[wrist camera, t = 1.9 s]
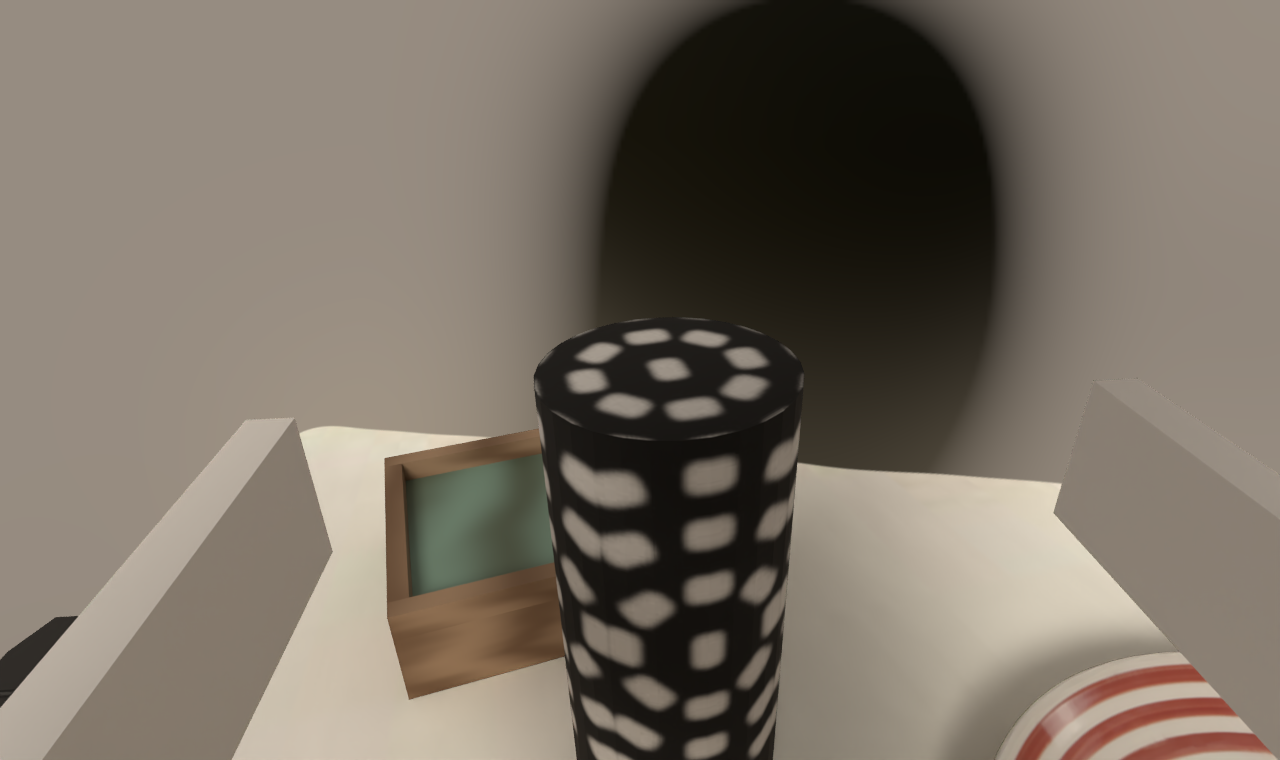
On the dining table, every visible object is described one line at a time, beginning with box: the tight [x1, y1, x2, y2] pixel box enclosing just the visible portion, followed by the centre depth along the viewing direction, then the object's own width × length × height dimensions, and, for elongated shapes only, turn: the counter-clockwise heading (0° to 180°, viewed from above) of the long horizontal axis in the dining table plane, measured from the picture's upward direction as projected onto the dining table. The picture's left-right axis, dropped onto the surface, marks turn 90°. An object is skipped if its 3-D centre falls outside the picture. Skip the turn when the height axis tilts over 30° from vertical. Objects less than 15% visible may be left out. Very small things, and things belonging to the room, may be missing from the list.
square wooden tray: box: [385, 429, 565, 699], centre depth 42 cm, size 14×14×6 cm
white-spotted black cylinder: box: [534, 317, 804, 760], centre depth 27 cm, size 8×8×20 cm
